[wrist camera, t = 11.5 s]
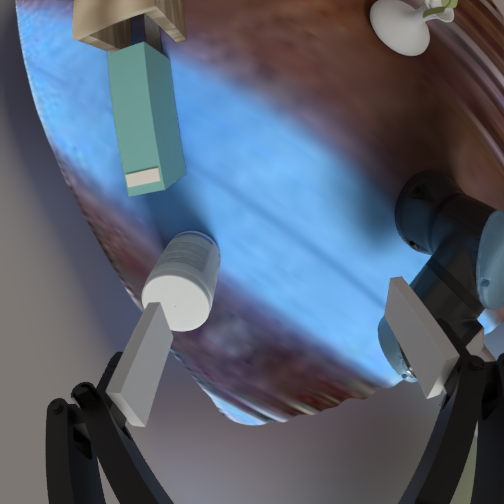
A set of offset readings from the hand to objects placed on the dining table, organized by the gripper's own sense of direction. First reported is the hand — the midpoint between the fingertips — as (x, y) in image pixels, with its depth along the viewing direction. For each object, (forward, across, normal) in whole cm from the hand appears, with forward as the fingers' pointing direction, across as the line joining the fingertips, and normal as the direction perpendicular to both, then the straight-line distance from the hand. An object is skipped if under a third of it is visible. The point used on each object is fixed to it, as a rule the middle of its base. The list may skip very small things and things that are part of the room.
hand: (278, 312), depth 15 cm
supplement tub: (+31, +13, +10) cm, 35 cm away
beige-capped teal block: (+30, +14, -14) cm, 36 cm away
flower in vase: (+31, -25, -27) cm, 48 cm away
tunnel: (+31, +14, -30) cm, 45 cm away
